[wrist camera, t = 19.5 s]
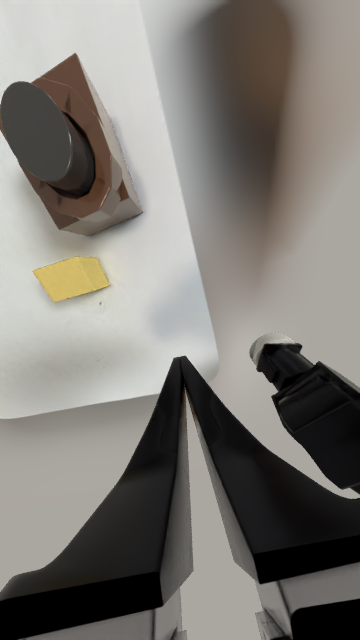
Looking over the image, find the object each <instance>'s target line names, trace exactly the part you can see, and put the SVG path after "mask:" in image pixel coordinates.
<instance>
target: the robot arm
mask: <svg viewBox="0 0 360 640" xmlns="http://www.w3.org/2000/svg"><path fill="white" fill-rule="evenodd" d="M266 346H267V347H266ZM301 349H302V345H301V344H299V343H266V344H264V345H263V349H262V352H261V355H260V358H259V361H258V364H257V368H256V369H257V371H258V372H263V374H264V375H265V376H266V378H267V379H268V381H269V382H270V383H273V385H274V386H275V387H276V389H277V390H278V393H276V394H275V395H272V396H271V397H272V400H273V402H274V405H275V407H276V410H277V412H278V415H279V417H280V420H281V422H282V424H283V426H284V428H285V429H286V430H287V432H288V433H289V434H290V435H291V436H292V437H293V438H294V439H295V440H296V441H297V442H298V443H299V444H301V445H302V446H303V448H304V449H305V450H306V451H307V452H308V454H309V455H310V456H311V458H312V459H313V460H314V462H315V463H316V464H317V466H318V467H319V468H320V470H321V471H322V473H323V474H324V475H325V476H326V477H327V478H328V479H329V480H330V481H331V482H333V483H334V484H335V485H336V486H337V487H339V488H340V489H342V490H343V489H346V488H351V489H352V490H354V491H355V492H357V493H358V494H360V388H359V387H358V386H356V385H355V384H354V383H352V382H351V381H349V380H348V379H347V378H345V377H344V376H342V375H341V374H340V373H338V372H336V371H335V370H333V369H331V368H330V367H328V366H326V365H325V364H323V363H322V362H320V361H318V362H317V363H316V365H313V364H312V363H311V362H310V361H309V360H307V359H306V358H305V357H304V356H303V355H301V354H300V351H301ZM185 390H186V394H187V397H188V400H189V404H190V408H191V411H192V415H193V418H194V422H195V425H196V428H197V432H198V436H199V439H200V443H201V446H202V449H203V453H204V456H205V460H206V464H207V467H208V471H209V474H210V477H211V481H212V485H213V488H214V492H215V495H216V499H217V502H218V506H219V509H220V513H221V516H222V520H223V523H224V527H225V530H226V534H227V537H228V541H229V545H230V548H231V551H232V555H233V559H234V561H235V563H237V564H238V565H239V566H240V567H241V568H242V569H244V571H246V572H247V573H248V574H249V575H250V576H252V578H253V579H254V580H255V583H256V587H257V590H258V594H259V598H260V601H261V605H262V609H263V611H262V612H258V613H255V615H256V619H257V623H258V627H259V631H260V635H261V639H262V640H360V498H357V499H348V498H344V497H341V496H339V495H336V494H334V493H332V492H331V491H329V490H327V489H326V488H324V487H322V486H321V485H319V484H318V483H317V482H315V481H314V480H312V479H310V478H309V477H308V476H306V475H305V474H303V473H302V472H300V471H299V470H297V469H296V468H294V467H293V466H291V465H290V464H288V463H287V462H285V461H284V460H282V459H281V458H279V457H278V456H277V455H275V454H274V453H272V452H271V451H269V450H268V449H267V448H266V447H265V446H263V445H262V444H261V443H260V442H259V441H258V440H257V439H256V438H255V437H254V436H253V435H252V434H251V433H250V432H249V431H248V430H247V429H246V428H245V427H244V426H243V425H242V424H241V423H240V421H239V420H238V419H236V417H235V416H234V415H233V414H232V413H231V412H230V411H229V410H228V409H227V408H226V407H225V405H224V404H223V403H222V402H221V400H220V399H219V398H218V397H217V395H216V394H215V393H214V392H213V390H212V389H211V388H210V387H209V385H208V384H207V383H206V381H205V380H204V379H203V378H202V376H201V375H200V374H199V372H198V371H197V370H196V369H195V367H194V366H193V365H192V363H191V362H190V361H189V360H188V358H187V357H186V356H181V357H176V358H174V359H173V361H172V364H171V367H170V369H169V372H168V374H167V377H166V380H165V382H164V385H163V388H162V390H161V393H160V395H159V398H158V401H157V403H156V406H155V408H154V411H153V414H152V417H151V419H150V421H149V423H148V425H147V427H146V430H145V432H144V434H143V436H142V438H141V440H140V442H139V444H138V446H137V448H136V450H135V452H134V454H133V456H132V458H131V460H130V462H129V464H128V466H127V468H126V470H125V471H124V473H123V475H122V476H121V478H120V479H119V481H118V482H117V484H116V485H115V486H114V488H113V489H112V490H111V492H110V493H109V494H108V495H107V497H106V498H105V499H104V500H103V502H102V503H101V504H100V505H99V507H98V508H97V509H96V511H95V512H94V513H93V514H92V516H91V517H90V518H89V519H88V521H87V522H86V523H85V524H84V526H83V527H82V528H81V529H80V531H79V532H78V533H77V535H76V536H75V537H74V538H73V540H72V541H71V542H70V543H69V545H68V546H67V547H66V548H65V549H64V550H63V552H62V553H61V554H60V555H59V556H58V557H57V558H56V559H54V560H53V561H52V562H51V563H50V564H48V565H47V566H45V567H44V568H42V569H39V570H36V571H31V572H27V573H22V574H19V575H16V576H14V577H12V578H11V579H10V580H9V582H8V583H7V584H6V586H5V587H4V588H3V590H2V591H1V592H0V640H187V633H186V630H184V631H182V617H181V598H180V586H181V585H182V584H183V582H184V581H185V580H186V579H187V578H188V577H189V575H190V574H191V573H192V572H193V552H192V533H191V532H192V530H191V508H190V485H189V464H188V441H187V419H186V396H185Z"/></svg>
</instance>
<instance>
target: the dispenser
mask: <svg viewBox="0 0 360 640" xmlns="http://www.w3.org/2000/svg"><path fill="white" fill-rule="evenodd" d="M31 84H34V85H36V86H37V87H39V88H40V89H42V90H43V91H44V92H46V93H47V94H48V95H49V96H50V97H51V99H52V100H53V101H54V102H55V103H56V105H57V106H58V107H59V108H60V109H61V111H62V112H63V113H64V114H65V115H66V117H67V118H68V119H69V120H70V122H71V123H72V124H73V125H74V126H75V128H76V129H77V130H78V131H79V132H80V134H81V135H82V136H83V138H84V139H85V141H86V142H87V144H88V146H89V148H90V151H91V154H92V157H93V161H94V180H93V183H92V186H91V187H90V189H89V190H88V191H87V192H86V193H84V194H82V195H79V196H73V195H69V194H67V193H64V192H63V191H61V190H59V189H57V188H55V187H54V186H52V185H50V184H48V183H46V182H45V181H43V180H41V179H39V178H37V177H36V176H34V175H33V174H31V173H30V172H29V171H28V170H27V169H26V168H25V167H24V166H23V165H22V164H21V163H20V162H19V160H18V159H17V160H18V162H19V165H20V167H21V168H22V170H23V172H24V173H25V175H26V177H27V178H28V180H29V182H30V183H31V185H32V187H33V189H34V190H35V192H36V193H37V194H38V195H39V197H40V198H41V200H42V202H43V204H44V205H45V207H46V209H47V210H48V212H49V214H50V215H51V217H52V219H53V221H54V222H55V224H56V226H57V227H58V229H59V230H63V231H68V232H72V233H76V234H80V235H85V236H90V235H92V234H94V233H97V232H99V231H101V230H104V229H106V228H108V227H111V226H113V225H115V224H118V223H120V222H122V221H125V220H127V219H129V218H132V217H134V216H136V215H139V214H141V213H143V211H142V208H141V205H140V202H139V199H138V197H137V194H136V191H135V188H134V185H133V182H132V179H131V177H130V174H129V171H128V168H127V165H126V162H125V159H124V157H123V154H122V151H121V148H120V145H119V142H118V140H117V137H116V134H115V131H114V128H113V125H112V122H111V120H110V117H109V115H108V113H107V111H106V109H105V107H104V105H103V103H102V101H101V100H100V98H99V96H98V94H97V92H96V90H95V88H94V86H93V84H92V82H91V80H90V78H89V77H88V75H87V73H86V71H85V69H84V67H83V65H82V63H81V61H80V59H79V57H78V56H77V54H76V53H74V54H73V55H71V56H70V57H68V58H67V59H65V60H64V61H63V62H61V63H60V64H58V65H57V66H55V67H54V68H52V69H51V70H50V71H48V72H47V73H45V74H44V75H42V76H41V77H39V78H37V79H36V80H35V81H33V82H32V83H31ZM0 130H1V132H2V134H3V135H4V137H5V134H4V131H3V127H2V122H1V104H0ZM5 139H6V137H5ZM6 141H7V139H6Z"/></svg>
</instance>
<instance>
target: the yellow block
mask: <svg viewBox="0 0 360 640" xmlns="http://www.w3.org/2000/svg"><path fill="white" fill-rule="evenodd" d="M33 273H34V275H35V276H36V277H37V279H38V280H39V282H40V283H41V285H42V286H43V288H44V289H45V291H46V292H47V293H48V295H49V296H50V298H51V299H52V301H53V302H58V301H61V300H65V299H68V298H72V297H75V296H79V295H82V294H86V293H89V292H93V291H96V290H99V289H101V288H104V287H107V286H110V284H109V282H108V280H107V277H106V275H105V273H104V271H103V269H102V267H101V265H100V263H99V261H98V258H97V257H73V258H70V259H67V260H64V261H61V262H58V263H55V264H52V265H49V266H46V267H43V268H40V269H37V270H34V271H33Z"/></svg>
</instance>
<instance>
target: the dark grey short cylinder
mask: <svg viewBox="0 0 360 640" xmlns="http://www.w3.org/2000/svg"><path fill="white" fill-rule="evenodd" d="M1 122H2V127H3V131H4V134H5V137H6V139H7V142H8V144H9V146H10V148H11V150H12V151H13V153H14V155H15V156H16V158H17V159H18V160H19V162H20V163H21V164H22V165H23V166H24V167H25V168H26V169H27V170H28V171H29V172H30V173H31V174H33V175H34V176H36V177H37V178H39V179H41V180H43V181H45V182H46V183H48V184H50V185H52V186H54V187H55V188H57V189H59V190H61V191H63V192H64V193H67V194H69V195H73V196H79V195H82V194H84V193H86V192H87V191H88V190H89V189H90V187H91V186H92V183H93V180H94V161H93V157H92V154H91V151H90V148H89V146H88V144H87V142H86V141H85V139H84V138H83V136H82V135H81V134H80V132H79V131H78V130H77V129H76V128H75V126H74V125H73V124H72V123H71V122H70V120H69V119H68V118H67V117H66V115H65V114H64V113H63V112H62V111H61V109H60V108H59V107H58V106H57V105H56V103H55V102H54V101H53V100H52V99H51V97H50V96H49V95H48V94H47V93H46V92H44V91H43V90H42V89H40V88H39V87H37V86H36V85H34V84H31V83H29V82H24V81H19V82H15V83H13V84H11V85H10V86H9V87H8V88H7V89H6V90H5V92H4V94H3V97H2V100H1Z"/></svg>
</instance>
